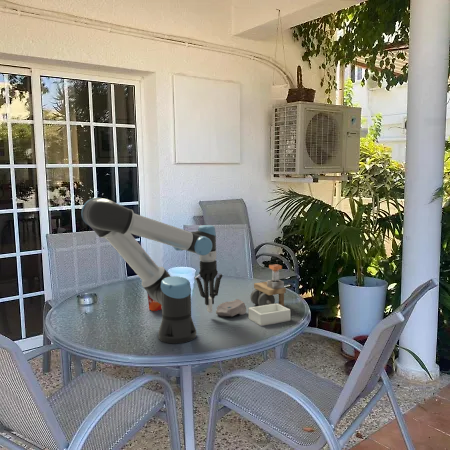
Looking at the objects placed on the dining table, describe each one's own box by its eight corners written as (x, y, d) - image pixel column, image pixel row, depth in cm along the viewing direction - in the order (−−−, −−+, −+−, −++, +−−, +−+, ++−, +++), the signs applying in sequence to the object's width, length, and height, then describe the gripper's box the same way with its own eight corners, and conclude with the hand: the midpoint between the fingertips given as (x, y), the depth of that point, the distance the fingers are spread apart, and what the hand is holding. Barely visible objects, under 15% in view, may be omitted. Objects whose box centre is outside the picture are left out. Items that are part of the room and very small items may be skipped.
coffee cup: (147, 312, 210) (145, 281, 208) (146, 307, 218) (145, 277, 216) (164, 310, 211) (163, 280, 210) (163, 306, 219) (162, 276, 218)
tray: (260, 326, 188) (260, 314, 187) (248, 318, 198) (248, 307, 197) (290, 320, 194) (290, 309, 193) (277, 313, 204) (277, 303, 203)
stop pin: (273, 288, 208) (273, 266, 207) (269, 286, 212) (269, 265, 211) (281, 287, 210) (281, 265, 209) (277, 285, 214) (276, 264, 213)
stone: (227, 320, 196) (227, 307, 196) (214, 315, 204) (214, 302, 203) (249, 314, 204) (249, 302, 204) (236, 310, 212) (236, 298, 211)
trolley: (263, 312, 206) (263, 284, 204) (248, 304, 219) (248, 278, 218) (285, 309, 210) (285, 281, 209) (269, 301, 224) (269, 275, 223)
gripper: (197, 263, 190) (199, 316, 193) (224, 260, 195) (226, 311, 198) (191, 260, 197) (193, 311, 200) (218, 257, 202) (219, 307, 205)
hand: (209, 311), depth 199 cm, fingers closed
